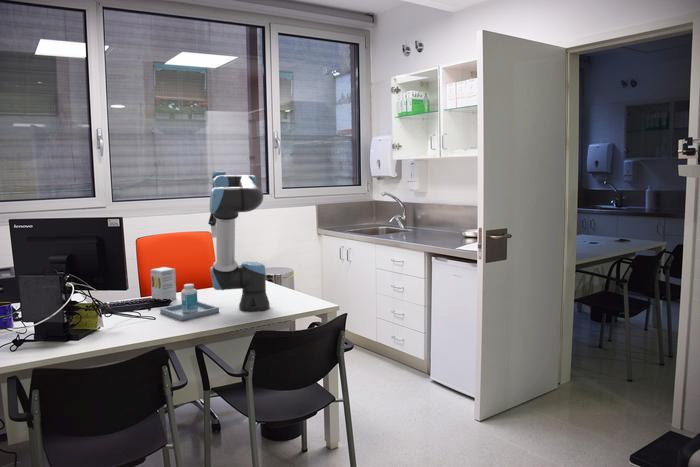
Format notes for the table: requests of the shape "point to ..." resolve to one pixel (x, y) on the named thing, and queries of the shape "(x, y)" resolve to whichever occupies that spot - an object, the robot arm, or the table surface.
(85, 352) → the table surface
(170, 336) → the table surface
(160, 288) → the supplement box
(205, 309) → the tray
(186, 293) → the pill bottle
